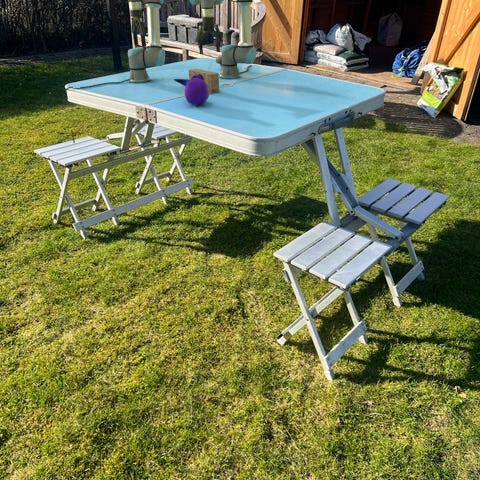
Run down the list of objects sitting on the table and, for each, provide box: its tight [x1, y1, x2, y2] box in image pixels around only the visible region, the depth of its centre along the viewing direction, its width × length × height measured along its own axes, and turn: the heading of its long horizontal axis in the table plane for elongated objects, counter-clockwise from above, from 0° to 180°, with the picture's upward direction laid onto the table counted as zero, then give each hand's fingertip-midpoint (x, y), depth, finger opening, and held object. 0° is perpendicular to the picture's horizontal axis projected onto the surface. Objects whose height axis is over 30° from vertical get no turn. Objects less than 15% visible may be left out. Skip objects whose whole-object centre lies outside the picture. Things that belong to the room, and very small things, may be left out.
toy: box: [173, 74, 210, 107], centre depth 272 cm, size 16×18×27 cm
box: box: [188, 68, 220, 95], centre depth 306 cm, size 25×7×12 cm, turn 40°
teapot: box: [215, 55, 222, 68], centre depth 374 cm, size 21×12×15 cm, turn 120°
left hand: (140, 45), depth 293 cm, fingers open, 13 cm apart
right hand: (209, 53), depth 291 cm, fingers open, 13 cm apart
